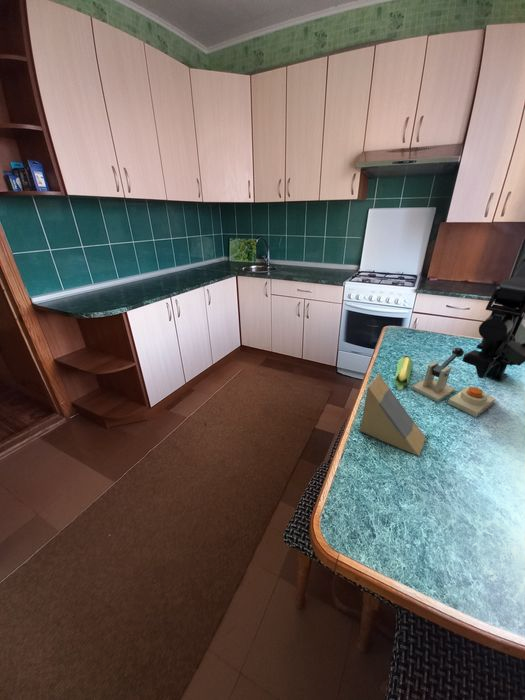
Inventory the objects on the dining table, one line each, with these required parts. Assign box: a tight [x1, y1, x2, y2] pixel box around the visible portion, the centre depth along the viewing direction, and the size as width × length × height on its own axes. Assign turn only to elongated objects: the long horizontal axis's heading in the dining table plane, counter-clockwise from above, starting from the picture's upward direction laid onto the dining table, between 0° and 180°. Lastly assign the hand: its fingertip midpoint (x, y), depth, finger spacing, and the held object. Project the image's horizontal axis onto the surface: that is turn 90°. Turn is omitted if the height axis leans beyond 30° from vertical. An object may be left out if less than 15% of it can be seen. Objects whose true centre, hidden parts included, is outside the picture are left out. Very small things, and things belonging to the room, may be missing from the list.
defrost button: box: [467, 386, 484, 398], centre depth 89 cm, size 4×4×2 cm
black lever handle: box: [432, 347, 464, 378], centre depth 96 cm, size 14×3×3 cm, turn 123°
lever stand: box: [411, 361, 456, 403], centre depth 95 cm, size 10×9×9 cm
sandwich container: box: [359, 373, 426, 457], centre depth 76 cm, size 9×15×15 cm, turn 52°
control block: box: [447, 386, 497, 418], centre depth 90 cm, size 12×8×4 cm, turn 123°
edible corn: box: [394, 355, 414, 391], centre depth 104 cm, size 5×20×5 cm, turn 151°
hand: (480, 377), depth 87 cm, fingers closed
